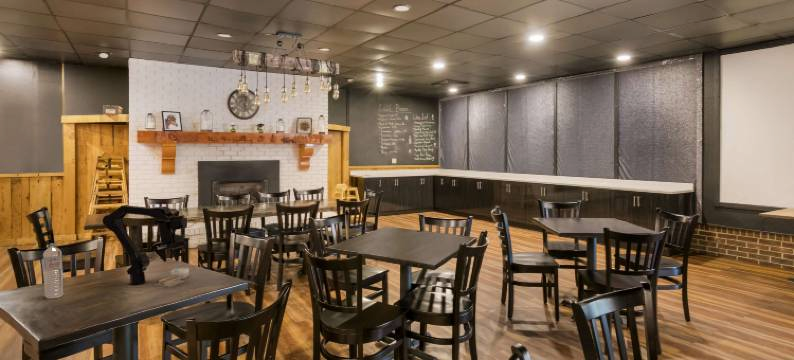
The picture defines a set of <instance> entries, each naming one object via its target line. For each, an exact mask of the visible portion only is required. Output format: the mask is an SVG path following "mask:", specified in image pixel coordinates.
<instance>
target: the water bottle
mask: <svg viewBox="0 0 794 360" xmlns="http://www.w3.org/2000/svg"><path fill="white" fill-rule="evenodd" d="M42 257H43V280H44V281H43V282H44V283H43V284H44V285H43V286H44V298H45V299H46V300H53V299H58V298H61V297H63V296H64V283H63V282H64V280H63V279H64V278H63V276H64V275H63V264H62V263H63V262H62V261H63V259H62V250H61V249H60V248H59V247H56V246H55V242H54V243H53V242H51V243H49V247H48V248H46V250H44V252H43V254H42Z"/></svg>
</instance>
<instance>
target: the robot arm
mask: <svg viewBox="0 0 794 360" xmlns="http://www.w3.org/2000/svg"><path fill="white" fill-rule="evenodd" d="M127 215H138V216H148V217H150V218H153V219H155V221H153V223H152V224H153V225H157V227H158V232H159V234H157V237H158V238H160V241H159V242H155V243H152V244H151V245H150V247H151V250H153V252H155V253H156V254H157V255H158V256H159V258H160V259H161V260H162V261H163V262H164V263H166V262H167V252H166V251H167V249H168V248H169V247H170V252H171V254H172V256H173V257H174V260H175V261H176V262H178V261H179V260H180V254H181V251H182V249H183V248H184V246H186V241H185V240H184V238H185V236H184V235H181V234H180V235H179V234H176V233H175V231H177V230H184V229H186V228H188V221H187V219H186V218H185V216H184V215H183V214H181V215H179V216H176V215H175V214H174V213H172V211H171V210H170V208H169V207H167V206H156V207H146V206H138V205H137V206H136V205H129V204H124V205H121V206H119V207H118V208H117V209H116V210H114V211H112V212H111V213H109V214H107V215H104V217H103V218H102V224H103V225H104V226H105V228H106V229H107V230H108V231H111V232H113V234H114V235H115V237H116V238H117V240H118V241H119V243H120V244H121V246H122V247H123V248H124V250H125V252H126V253H127V255H128V257H129V264H130V267H128V269H126V274H127V275H129V281H130V282H129V283H127V285H130V286H141V285H144V284H146V283H147V284H148V281H146V275H145V271H147V268H148V267H149V266H150V263H151V262H150V257H149V256H148V254H147V252H141V251H139V249H138V247H137V246H136V244H135V243H134V241H133V240H132V238H131V237H130V235H129V234H128V232H127V231H126V229H125V227H124V220H123V219H124V218H125V217H126V216H127Z"/></svg>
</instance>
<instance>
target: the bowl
mask: <svg viewBox="0 0 794 360" xmlns="http://www.w3.org/2000/svg"><path fill="white" fill-rule="evenodd" d="M170 272H171V276H173V277H181V280H183V279H187V278H188V277H189V275H190V274H189V273H190V269H189V268H188V267H179V268H173V269H171V270H170Z"/></svg>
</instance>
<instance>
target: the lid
mask: <svg viewBox="0 0 794 360" xmlns="http://www.w3.org/2000/svg"><path fill="white" fill-rule="evenodd" d="M180 281H182V279H181V277H173V276H172V275H171V276H168V277H165V278H163V279H160V280H158V283H159V284H160V285H159V286H162V285H168V286H167V287H170V286H169V285H172V284H174V283H177V282H180Z"/></svg>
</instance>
